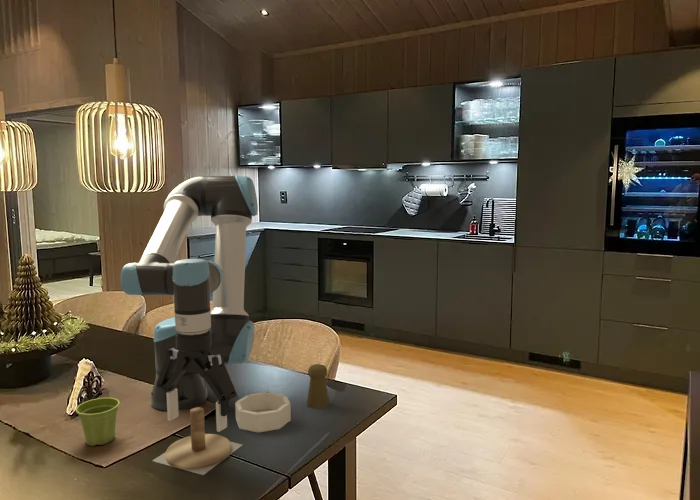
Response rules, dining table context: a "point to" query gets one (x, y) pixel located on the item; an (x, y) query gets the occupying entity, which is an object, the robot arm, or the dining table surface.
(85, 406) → the plant pot
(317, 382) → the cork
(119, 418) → the dining table surface
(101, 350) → the dining table surface
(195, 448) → the lid
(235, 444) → the mat
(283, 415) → the bowl
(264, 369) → the dining table surface
